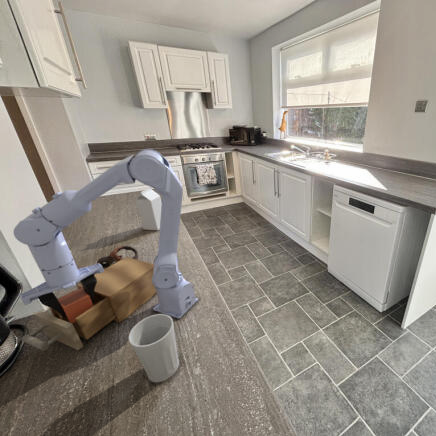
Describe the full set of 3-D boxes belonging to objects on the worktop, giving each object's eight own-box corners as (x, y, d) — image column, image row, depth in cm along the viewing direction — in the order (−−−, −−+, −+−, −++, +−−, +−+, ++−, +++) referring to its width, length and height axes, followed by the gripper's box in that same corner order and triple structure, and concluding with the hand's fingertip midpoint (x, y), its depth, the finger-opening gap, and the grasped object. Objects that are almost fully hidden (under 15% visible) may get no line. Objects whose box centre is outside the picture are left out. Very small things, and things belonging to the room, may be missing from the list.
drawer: (56, 367, 52) (42, 344, 49) (24, 351, 55) (9, 328, 52) (130, 309, 68) (123, 289, 64) (101, 299, 71) (93, 279, 68)
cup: (188, 351, 57) (179, 313, 52) (174, 386, 50) (162, 346, 45) (154, 351, 57) (142, 314, 52) (135, 386, 50) (119, 347, 45)
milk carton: (166, 224, 119) (158, 187, 111) (157, 230, 113) (148, 192, 105) (153, 223, 120) (144, 186, 112) (143, 229, 113) (133, 191, 105)
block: (95, 310, 61) (89, 295, 59) (70, 323, 57) (63, 308, 55) (88, 302, 64) (81, 287, 61) (64, 314, 60) (56, 298, 58)
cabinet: (119, 322, 64) (110, 296, 61) (87, 310, 68) (76, 285, 64) (162, 288, 77) (156, 264, 73) (133, 279, 81) (126, 256, 77)
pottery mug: (127, 256, 94) (133, 241, 91) (139, 273, 91) (145, 258, 87) (90, 264, 84) (95, 247, 80) (101, 284, 80) (107, 267, 77)
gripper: (14, 287, 47) (43, 336, 52) (101, 255, 57) (117, 298, 63) (7, 274, 50) (34, 321, 56) (90, 245, 61) (106, 287, 67)
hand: (77, 308), depth 60 cm, fingers closed on block, 5 cm apart
